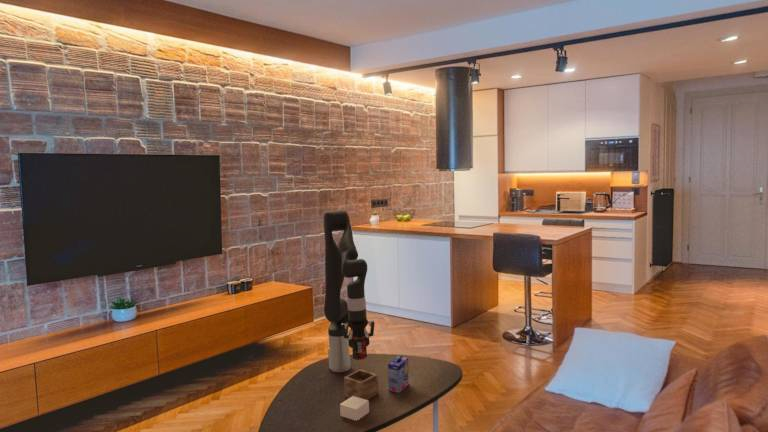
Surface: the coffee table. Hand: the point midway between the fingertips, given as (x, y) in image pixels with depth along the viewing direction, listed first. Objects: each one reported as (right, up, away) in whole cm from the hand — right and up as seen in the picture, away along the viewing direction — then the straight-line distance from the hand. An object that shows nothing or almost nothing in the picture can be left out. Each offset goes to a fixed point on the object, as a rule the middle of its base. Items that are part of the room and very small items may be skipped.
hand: (359, 346), depth 220 cm
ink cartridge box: (+17, -20, +8) cm, 27 cm away
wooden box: (+1, -21, +3) cm, 21 cm away
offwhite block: (-1, -23, -13) cm, 27 cm away
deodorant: (0, -5, +1) cm, 5 cm away
